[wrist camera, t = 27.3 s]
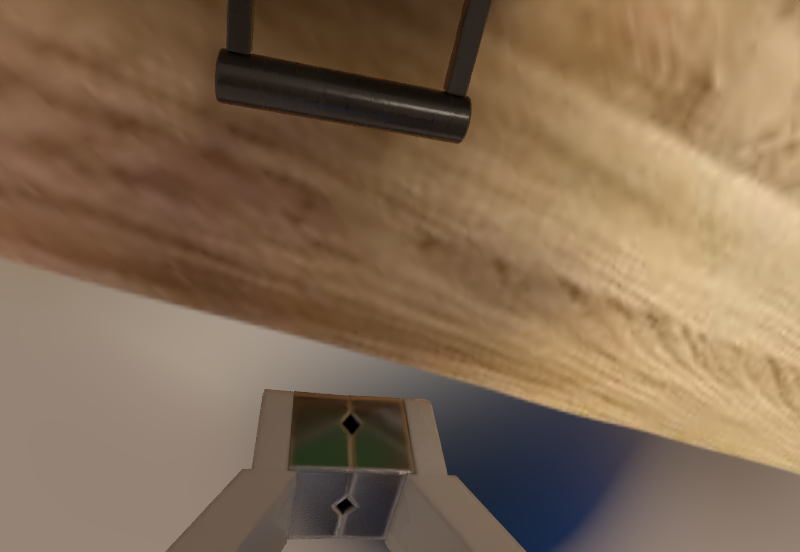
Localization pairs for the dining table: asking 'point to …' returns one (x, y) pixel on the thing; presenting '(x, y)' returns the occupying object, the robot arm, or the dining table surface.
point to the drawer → (350, 84)
